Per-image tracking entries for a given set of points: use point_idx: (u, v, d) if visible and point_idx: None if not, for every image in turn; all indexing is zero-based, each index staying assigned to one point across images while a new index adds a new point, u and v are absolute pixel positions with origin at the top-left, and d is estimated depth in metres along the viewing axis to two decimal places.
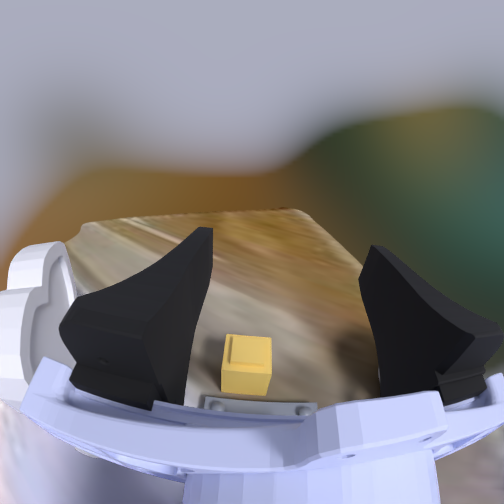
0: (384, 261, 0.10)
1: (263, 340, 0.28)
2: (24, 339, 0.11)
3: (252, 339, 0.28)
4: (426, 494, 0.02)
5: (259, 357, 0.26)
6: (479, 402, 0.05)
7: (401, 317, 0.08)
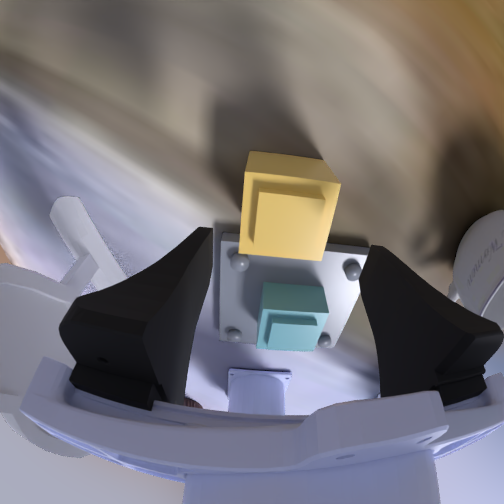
0: (384, 261, 0.10)
1: (322, 203, 0.13)
2: (68, 450, 0.11)
3: (300, 200, 0.13)
4: (426, 494, 0.02)
5: (306, 242, 0.15)
6: (479, 402, 0.05)
7: (401, 317, 0.08)
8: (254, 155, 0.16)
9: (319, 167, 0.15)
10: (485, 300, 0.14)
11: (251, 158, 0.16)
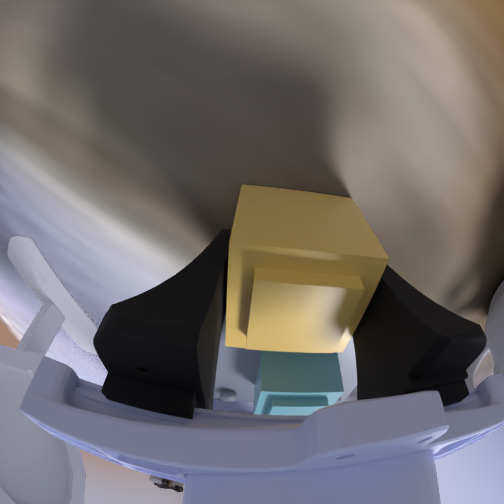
0: None
1: (358, 294, 0.08)
2: None
3: (323, 291, 0.08)
4: (426, 494, 0.02)
5: (326, 341, 0.09)
6: (479, 402, 0.05)
7: (377, 317, 0.08)
8: (248, 195, 0.11)
9: (349, 217, 0.10)
10: None
11: (243, 203, 0.10)
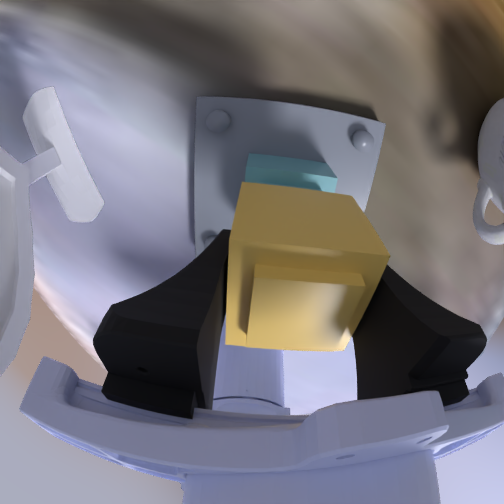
0: None
1: (359, 291, 0.08)
2: None
3: (324, 288, 0.08)
4: (426, 494, 0.02)
5: (327, 339, 0.09)
6: (479, 402, 0.05)
7: (377, 317, 0.08)
8: (248, 192, 0.11)
9: (350, 214, 0.10)
10: None
11: (243, 200, 0.10)
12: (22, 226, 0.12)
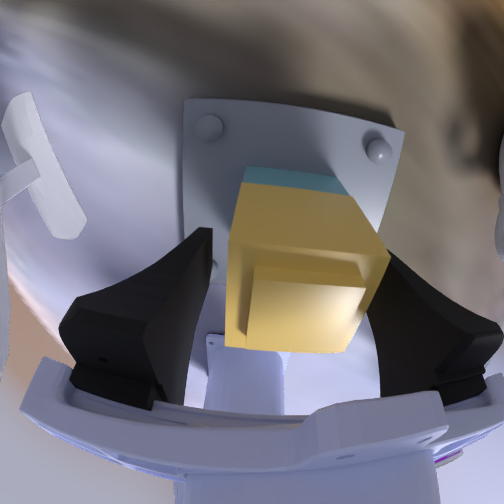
0: None
1: (360, 293, 0.08)
2: None
3: (324, 290, 0.08)
4: (426, 494, 0.02)
5: (327, 341, 0.09)
6: (479, 402, 0.05)
7: (401, 317, 0.08)
8: (248, 193, 0.11)
9: (350, 215, 0.10)
10: None
11: (242, 201, 0.10)
12: None
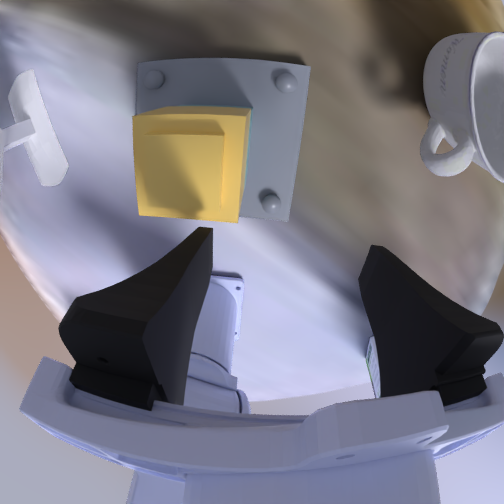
0: (384, 261, 0.10)
1: (219, 141, 0.10)
2: None
3: (190, 139, 0.10)
4: (426, 494, 0.02)
5: (208, 194, 0.11)
6: (479, 402, 0.05)
7: (401, 317, 0.08)
8: (165, 108, 0.13)
9: (235, 110, 0.12)
10: (467, 85, 0.09)
11: (158, 109, 0.12)
12: None
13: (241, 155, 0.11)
